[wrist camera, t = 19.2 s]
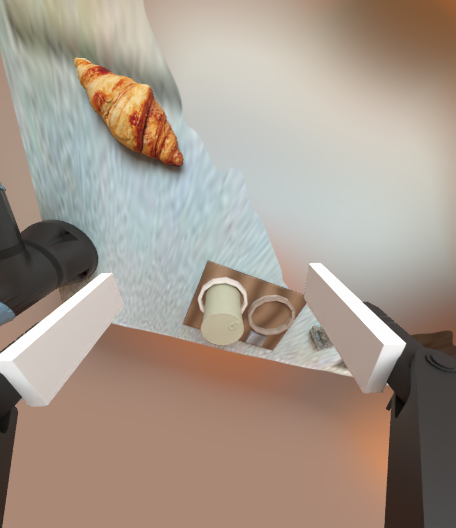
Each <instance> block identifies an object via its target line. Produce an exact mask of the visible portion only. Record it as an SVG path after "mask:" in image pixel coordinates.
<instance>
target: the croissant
mask: <svg viewBox="0 0 456 528" xmlns="http://www.w3.org/2000/svg"><path fill="white" fill-rule="evenodd" d="M75 66H76V68H77V73H78V78H79V80H80V83H81V85H82V86H83V87H84V88H85V89H86V92H87V94H88V98H89V100H90V104H91V106H92V107H93V109H94V110H95V112H97V113H98V115H100V116H101V117H102V118H103V119H104V122H105V123H106V125H107V126H108V128H109V129H110V132H111V134H112V135H113V137H114V138H115V139H116V140H117V141H119V142H120V143H121V144H123V145H124V146H126V147H127V148H129V149H131V150H133V151H135V152H138V153H141V154H144V155H146V156H148V157H151V158H154V159H158V160H161V161H162V162H163V163H164V164H166V165H174V166H178V167H179V166H181V165H182V164H183V155H182V153H181V152H180V151H179V149H178V148H177V147H178V144H177V137H176V136H175V134H174V132H173V130H172V128H171V126H170V124H169V123H168V122H167V120H166V115H165V113H164V111H163V109H162V108H161V106H160V105H159V104H158V103H157V101H156V100H155V98H154V96H153V93H152V89H151V87H150V86H148V85H146V84H138V83H136V82H135V81H134V80H132V79H129V78H128V77H125V76H117V75H115V74H113V73H112V72H110V71H109V70H108V69H106V68H104V67H102V66H98V65H93V64H92V63H91V62H90V61H88V60H86V59H84V58H75Z"/></svg>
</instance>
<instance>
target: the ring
mask: <svg viewBox="0 0 456 528" xmlns="http://www.w3.org/2000/svg"><path fill="white" fill-rule="evenodd" d="M222 283H227V284H230V285H233V286H236V287H237V288H238V289H239V290H240V291H241V292H242V294H243V296H244V301H243V303H242V305H241V312H242V313H243V312H244V310H245V308H246V306H247V304H248V303H247V294H246V290H245V289H244V287H243V286H242V285H241V284H240V283H239V282H238V281H236V280H233V279H230V278H227V277H223V278H215V279H212V280H210V281H209V282H207V283H206V284H205V285H203V286H202V289H201V291H200V293H199V296H198V302H199V306H200V310H201V311H202V312H203V313H204V309H205V306H204V304H203V300H202V296H203V294H204V291H205V290H206V289H208V288H209V287H211V286H212V285H214V284H222ZM201 325H202V324H201ZM200 329H201V326H200Z"/></svg>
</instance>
